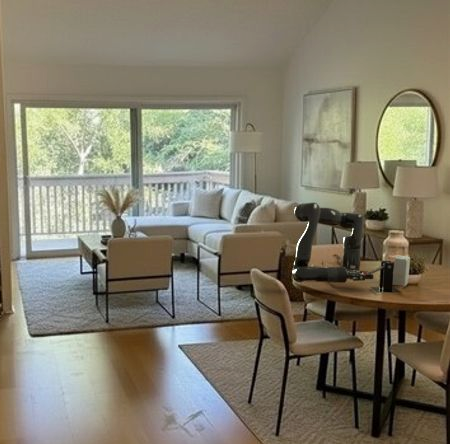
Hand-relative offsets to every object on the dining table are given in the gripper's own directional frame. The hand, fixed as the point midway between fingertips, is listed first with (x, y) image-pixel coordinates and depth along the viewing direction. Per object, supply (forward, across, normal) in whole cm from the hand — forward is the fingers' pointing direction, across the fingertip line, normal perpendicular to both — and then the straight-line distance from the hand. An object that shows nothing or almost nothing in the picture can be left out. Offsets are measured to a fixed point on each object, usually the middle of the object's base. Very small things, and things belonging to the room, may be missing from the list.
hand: (370, 275), depth 271 cm
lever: (+3, 0, -1) cm, 3 cm away
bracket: (+8, 0, +8) cm, 11 cm away
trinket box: (-17, +24, +8) cm, 30 cm away
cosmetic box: (+19, +12, +8) cm, 24 cm away
